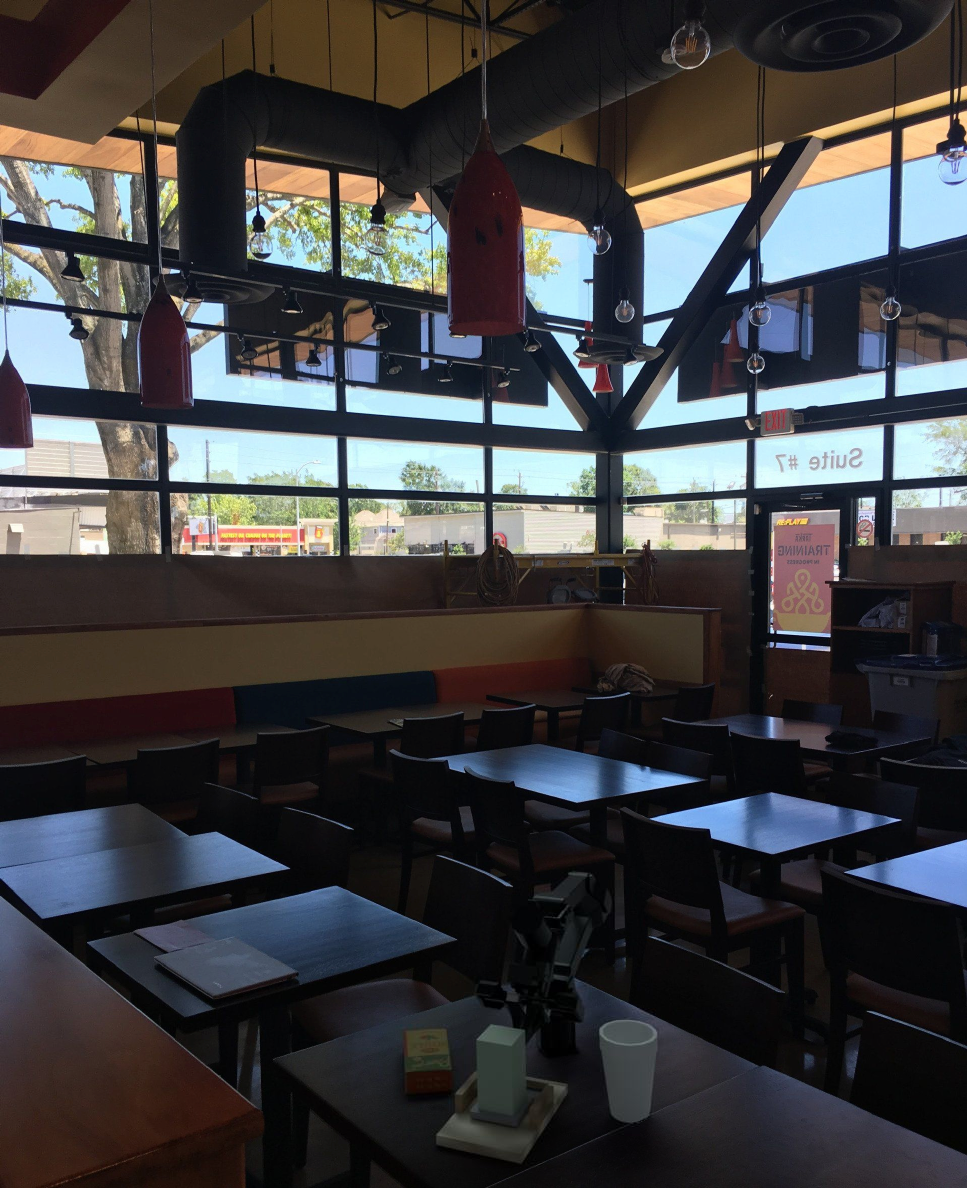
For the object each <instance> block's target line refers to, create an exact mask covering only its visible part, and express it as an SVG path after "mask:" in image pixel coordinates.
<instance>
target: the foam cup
mask: <svg viewBox="0 0 967 1188" xmlns="http://www.w3.org/2000/svg"><path fill="white" fill-rule="evenodd" d="M598 1031H599V1049H600V1051H601V1057H602V1065H603V1070H604V1071H603V1072H604V1076H605V1077H604V1078H605V1083H606V1084H605V1086H606V1089H607V1098H608V1103H609V1104H608V1105H609V1110H610V1115H611V1116H612V1117H613V1118H614V1120H615V1119H616V1121H617V1120H618V1121H619V1122H621V1123H622V1122H623V1123H629V1124H633V1123H634V1122H636V1123H638V1122H637V1121H640V1120H642V1119H644V1118H647V1117H648V1116H650V1112H651V1107H652V1106H651V1103H652V1097H653V1095H652V1094H653V1088H654V1087H653V1086H654V1076H655V1066H656V1058H657V1052H658V1048H659V1047H658V1033H657V1029H656V1028H654V1027H653V1026H652V1025H651V1024H649V1023H645V1022H643V1021H641V1020H631V1019H618V1020H617V1019H616V1020H612V1021H609V1022H606V1023H604V1024H603V1025H602V1026H601V1027H600V1028H599V1029H598ZM648 1118H649V1117H648ZM648 1118H647V1119H648ZM634 1124H635V1123H634Z"/></svg>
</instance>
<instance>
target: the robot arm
mask: <svg viewBox="0 0 967 1188" xmlns="http://www.w3.org/2000/svg"><path fill="white" fill-rule="evenodd" d="M612 906H613V901H612V895H611V894H610V891H609V890H608V887H606V886H605V885H604V884H603V883H601V882H599V881H598V880H597V879H596V878H595V875H594V874H592V873H590V872H584V871H583V872H582V871H575V870H574V871H572V872H570V871H569V872H568V874H567V876H566V878H565V879H564V880H563V881H562V882H560V883H559V885H557V886H556V887H555V888H554V889H553V890H552V891H547V892H546V891H545V892H540V893H537V894H535V895H534V896H533V897H532V899H526V903H525V905H522V906H520V907H519V908H518V909H516V911H514V913H513V914H512V915H511V921H510V922H511V926H512V929H513V931H514V932H515V934H516V936H517V938H518V939H519V941H520V944H522V946H523V947H524V953H523V957H522V958H519V961H518V963H514V962H508V963H507V966H506V967H507V969H506V976H505V977H506V978H505V983H510V984H509V985H510V988H511V989H514V991H512V990H511V991H510V990H505V989H503V987H502V985H501V984H500V982H496V981H489V980H480V981H478V983H477V984H475V988H474V992H473V995H474V996H475V998H476V999H477V1000H478V1002H479V1004H480V1005H481V1007H483V1008H485V1009H488V1010H495V1011H501V1010H502V1009H503V1008H505V1009H506V1010H507V1012H508V1014H509V1016H510V1018H511V1021H512V1028H516V1029H522V1030H525V1047H526V1046H527V1044H528V1043H529V1042H530V1040H531V1039H532V1037H533V1036H536V1037H535V1038H536V1039H535V1044H536V1045H537V1047H538V1048H539V1049H540V1050H541V1051H542V1053H543V1054H544V1055H545V1056H546V1057H548V1058H552V1057H556V1056H563V1055H569V1054H574V1053H575V1054H577V1053H579V1052H580V1048H579V1047H578V1045H577V1041H576V1040H577V1039H576V1038H577V1036H576V1035H577V1033H576V1023H577V1024H582V1023H583V1022H584V1018H585V1014H586V1013H585V1010H586V1009H585V1006H584V1004H583V1000H582V998H581V996H580V994H579V992H578V990H577V989H576V987H577V986H576V984H575V975H576V973H577V970H578V968H579V966H580V962H581V960H582V957H583V954H584V952H585V950H586V946H587V944H588V941H589V939H590V936H591V934H592V931H593V930H594V929H596V928H597V927H600V926H601V925H603V924H604V923H605V920H606V919H607V917H608V915H609V914H610V913H611V911H612ZM553 930H559V931H564V933H563V935H562V938H561V940H560V939H559V937H558V935H557V934H556V933H555V932H554V931H553ZM535 1034H536V1035H535Z"/></svg>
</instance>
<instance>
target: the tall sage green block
mask: <svg viewBox="0 0 967 1188" xmlns="http://www.w3.org/2000/svg"><path fill="white" fill-rule="evenodd" d="M475 1040H476V1043H475V1044H476V1071H477V1090H478V1102H477V1103H476V1104H475V1105H474V1106H473V1108H472V1109H471V1110H470V1117H471V1118H475V1119H480V1120H485V1121H490V1122H494V1123H499V1124H504V1125H509V1126H514V1127H517V1126H518V1125H519V1123H520V1122H521V1120H522V1119H523V1118H524V1116H525V1115H526V1113H527V1112H528V1111H529V1109H530V1107H531V1106H532V1104H533V1103H534V1102H535V1099H534V1096H532V1095H527V1094H526V1077H527V1069H526V1068H527V1067H526V1066H527V1065H526V1062H527V1060H526V1046H525V1030H522V1029H516V1028H513V1027H509V1026H504V1025H499V1024H491V1023H490V1025H489V1026H488V1027H487V1028H486V1029H485V1030H484V1031H483V1032H482V1034H480V1035H479V1037H477V1039H475Z"/></svg>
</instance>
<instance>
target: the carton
mask: <svg viewBox="0 0 967 1188" xmlns="http://www.w3.org/2000/svg"><path fill="white" fill-rule="evenodd" d="M447 1033H448V1032H447V1029H446V1028H429V1029H416V1030H403V1034H402V1035H403V1036H402V1038H403V1060H404V1061H403V1063H404V1065H403V1066H404V1067H403V1068H404V1094H405V1093H406V1094H405V1095H414V1094H415V1093H417V1094H427V1093H439V1092H450V1091H449V1090H451V1091H453V1090H454V1082H453V1079H454V1078H453V1070H452V1069H453V1067H452V1061H451V1055H450V1048H449V1042H448V1041H449V1040H448V1035H447ZM452 1089H453V1090H452Z"/></svg>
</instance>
